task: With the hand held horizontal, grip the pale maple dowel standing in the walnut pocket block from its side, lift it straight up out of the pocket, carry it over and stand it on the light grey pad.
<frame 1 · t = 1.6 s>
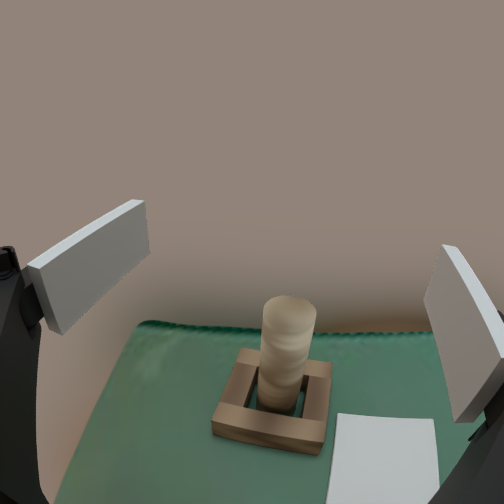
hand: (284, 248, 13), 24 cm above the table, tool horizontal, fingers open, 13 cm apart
dowel: (282, 366, 29), in the pocket block
pad: (386, 464, 24), on the table
pocket block: (275, 406, 32), on the table
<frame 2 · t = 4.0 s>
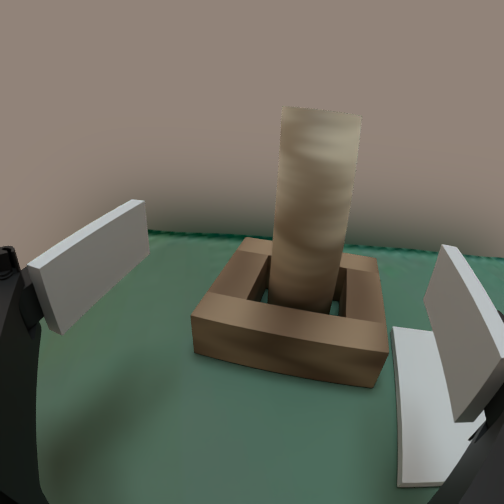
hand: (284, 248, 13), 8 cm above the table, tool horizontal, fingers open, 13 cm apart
dowel: (310, 226, 19), in the pocket block
pad: (476, 400, 14), on the table
pocket block: (296, 317, 22), on the table
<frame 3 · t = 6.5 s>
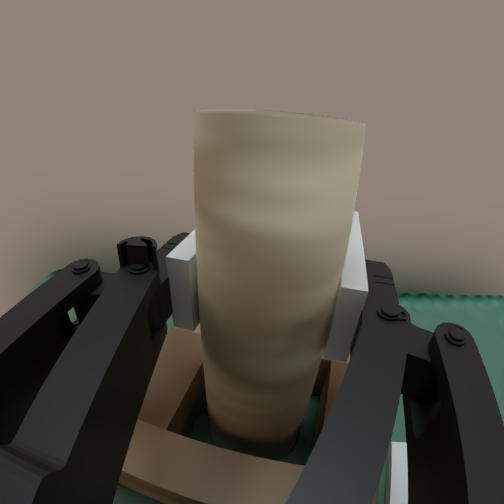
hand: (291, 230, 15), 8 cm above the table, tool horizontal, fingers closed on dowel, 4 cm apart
dowel: (264, 328, 11), in the pocket block, touching gripper
pocket block: (254, 428, 14), on the table
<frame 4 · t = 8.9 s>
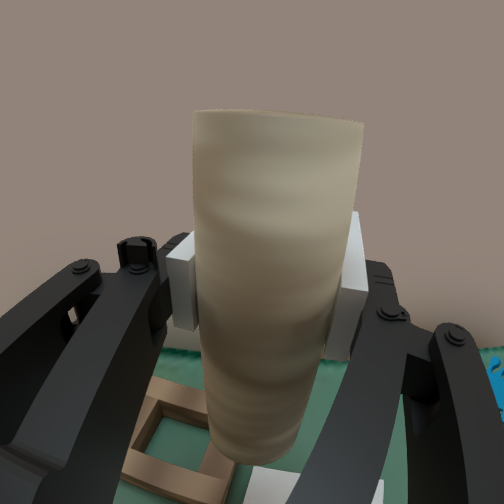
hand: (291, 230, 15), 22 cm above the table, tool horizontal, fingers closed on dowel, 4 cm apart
gear: (468, 420, 26), on the table
dowel: (263, 328, 11), point 20 cm above the table, touching gripper
pocket block: (179, 448, 24), on the table
when the fingers open (11 cm above the table, at t = 11.7 s): dowel drops 2 cm, resting on pad.
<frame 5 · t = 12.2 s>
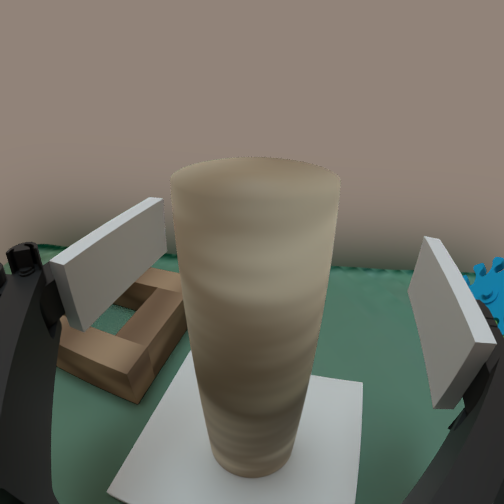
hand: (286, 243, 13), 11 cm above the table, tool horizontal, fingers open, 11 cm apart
gear: (475, 336, 23), on the table
dowel: (253, 362, 11), on the pad, point 8 cm above the table
pad: (252, 447, 15), on the table
pocket block: (113, 330, 23), on the table
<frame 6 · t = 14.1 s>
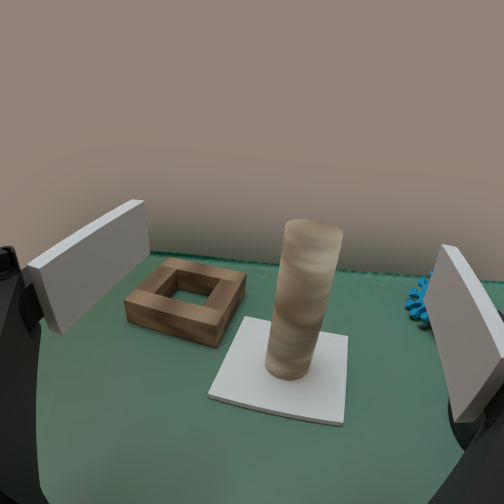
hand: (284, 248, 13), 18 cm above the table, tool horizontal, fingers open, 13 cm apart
gear: (428, 318, 38), on the table
dowel: (299, 306, 26), on the pad, point 8 cm above the table
pad: (286, 367, 30), on the table
pocket block: (189, 306, 37), on the table
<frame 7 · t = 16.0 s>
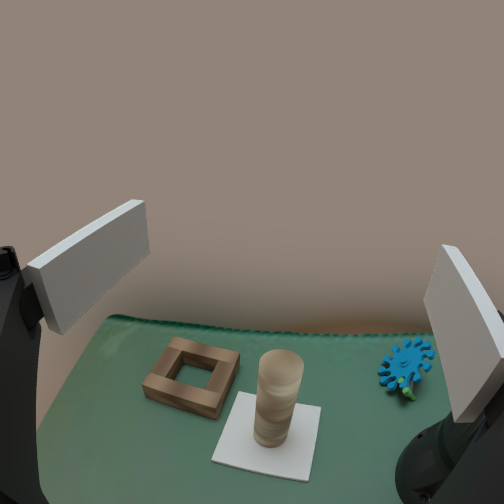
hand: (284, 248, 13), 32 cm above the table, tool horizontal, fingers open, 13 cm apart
gear: (398, 382, 44), on the table
dowel: (275, 404, 33), on the pad, point 8 cm above the table
pad: (270, 435, 36), on the table
pocket block: (194, 381, 44), on the table
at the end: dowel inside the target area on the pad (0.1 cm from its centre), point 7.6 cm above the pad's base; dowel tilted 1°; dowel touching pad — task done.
